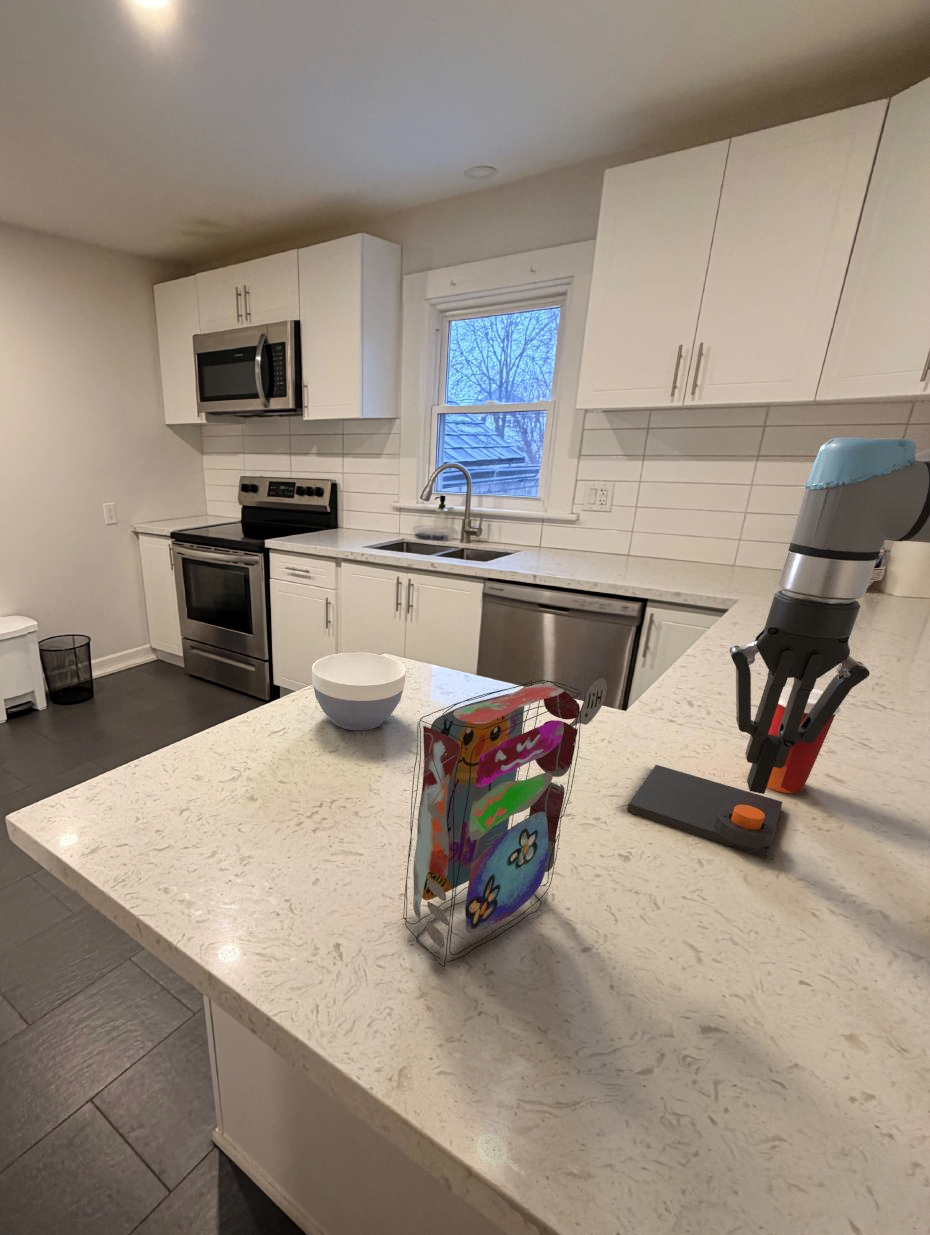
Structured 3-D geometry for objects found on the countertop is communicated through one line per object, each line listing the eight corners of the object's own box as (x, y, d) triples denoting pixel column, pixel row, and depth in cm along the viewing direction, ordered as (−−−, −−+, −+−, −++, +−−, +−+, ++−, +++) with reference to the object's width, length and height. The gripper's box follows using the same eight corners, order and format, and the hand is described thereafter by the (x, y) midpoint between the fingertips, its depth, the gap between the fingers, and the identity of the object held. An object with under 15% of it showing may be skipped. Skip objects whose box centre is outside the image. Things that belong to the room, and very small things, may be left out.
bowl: (293, 716, 112) (292, 665, 109) (358, 694, 122) (359, 646, 118) (355, 749, 101) (357, 693, 98) (422, 721, 111) (425, 669, 108)
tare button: (762, 822, 79) (766, 810, 78) (759, 834, 77) (763, 822, 76) (733, 813, 81) (736, 801, 80) (728, 824, 79) (732, 812, 78)
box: (552, 846, 79) (585, 658, 69) (597, 872, 74) (639, 675, 64) (400, 932, 65) (415, 714, 55) (444, 971, 60) (469, 740, 51)
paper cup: (811, 780, 94) (842, 692, 89) (811, 803, 88) (844, 710, 83) (749, 765, 98) (774, 680, 93) (745, 786, 92) (773, 697, 87)
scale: (780, 809, 87) (787, 790, 86) (765, 863, 76) (772, 842, 75) (653, 771, 96) (658, 753, 95) (624, 814, 85) (628, 795, 84)
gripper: (883, 594, 68) (813, 785, 78) (742, 580, 73) (692, 761, 83) (906, 611, 62) (827, 816, 71) (751, 594, 67) (696, 789, 76)
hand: (755, 787), depth 77 cm, fingers closed
